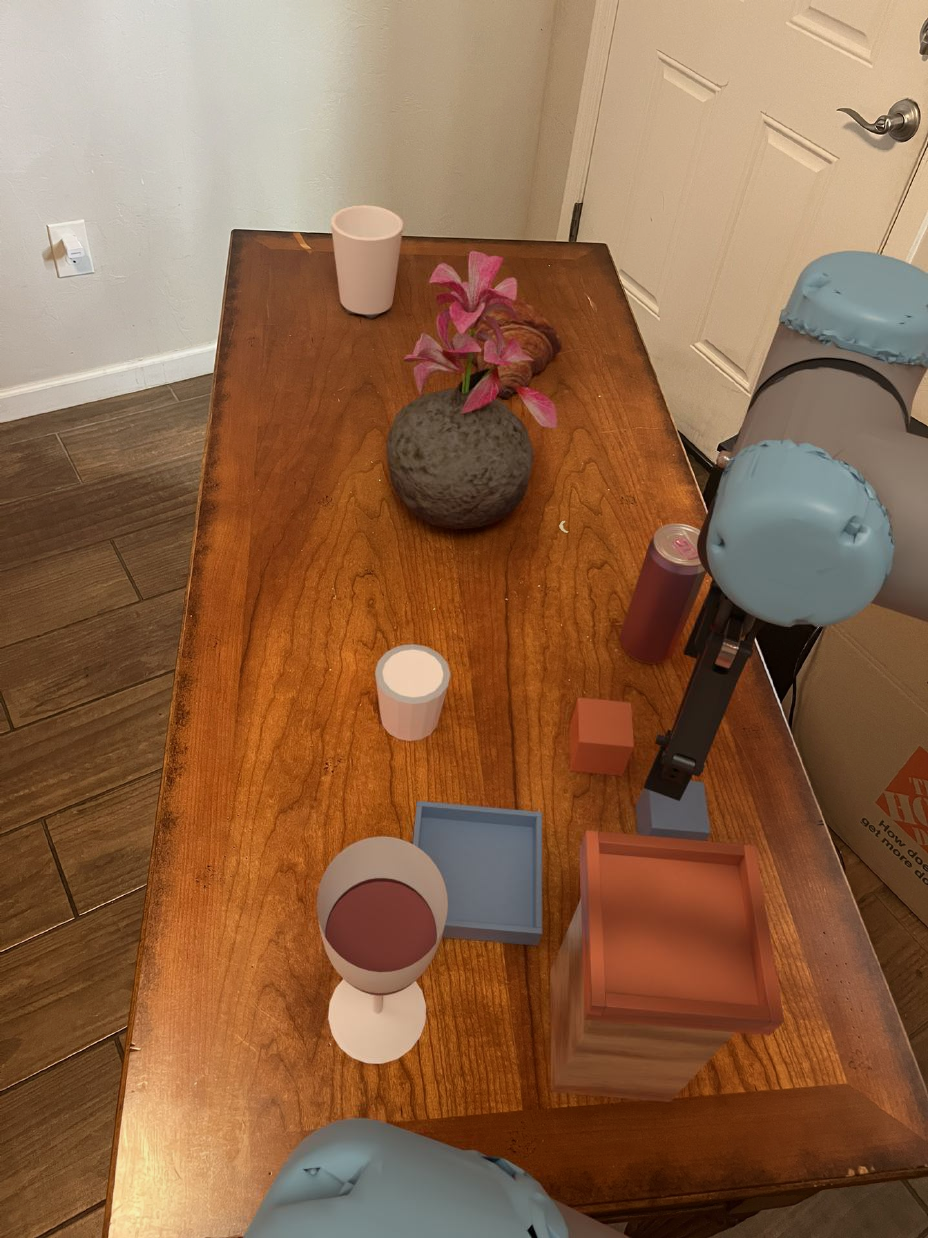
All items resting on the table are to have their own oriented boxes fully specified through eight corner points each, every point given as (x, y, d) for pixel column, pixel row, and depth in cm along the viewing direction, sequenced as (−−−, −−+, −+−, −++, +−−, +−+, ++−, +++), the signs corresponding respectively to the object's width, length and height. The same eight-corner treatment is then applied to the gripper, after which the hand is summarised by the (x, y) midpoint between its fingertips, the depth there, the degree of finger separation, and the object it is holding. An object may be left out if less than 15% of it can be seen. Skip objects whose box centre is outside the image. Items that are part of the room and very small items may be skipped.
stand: (685, 1118, 69) (784, 1021, 53) (537, 1106, 69) (592, 1005, 53) (671, 970, 77) (755, 845, 60) (537, 958, 76) (586, 829, 60)
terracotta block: (622, 776, 88) (634, 747, 85) (569, 771, 88) (579, 742, 84) (619, 732, 92) (630, 702, 88) (568, 727, 92) (577, 697, 88)
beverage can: (636, 673, 97) (673, 572, 85) (608, 631, 100) (639, 529, 89) (685, 658, 99) (727, 557, 87) (655, 617, 102) (692, 515, 91)
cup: (414, 309, 138) (418, 225, 129) (364, 332, 133) (365, 246, 124) (368, 280, 142) (369, 197, 133) (318, 302, 137) (315, 217, 128)
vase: (369, 469, 114) (372, 230, 91) (504, 449, 119) (538, 218, 96) (407, 566, 104) (420, 325, 81) (553, 541, 108) (604, 306, 86)
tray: (537, 946, 77) (542, 933, 75) (403, 934, 77) (405, 921, 75) (538, 825, 84) (542, 811, 82) (415, 814, 84) (417, 800, 82)
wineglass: (329, 1079, 69) (321, 980, 54) (322, 962, 75) (313, 843, 60) (436, 1064, 70) (457, 963, 55) (421, 950, 76) (437, 830, 61)
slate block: (694, 860, 83) (710, 833, 80) (638, 855, 83) (652, 827, 79) (689, 810, 87) (703, 782, 83) (635, 805, 86) (647, 776, 83)
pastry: (428, 340, 133) (431, 288, 127) (513, 312, 140) (520, 262, 134) (501, 403, 125) (508, 351, 119) (587, 370, 132) (598, 319, 126)
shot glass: (429, 756, 88) (433, 713, 83) (362, 731, 89) (362, 687, 84) (455, 702, 92) (461, 657, 87) (391, 679, 94) (393, 633, 88)
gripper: (747, 387, 65) (670, 595, 81) (667, 641, 49) (591, 837, 65) (856, 418, 63) (756, 623, 79) (811, 690, 48) (697, 877, 64)
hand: (682, 719), depth 72 cm, fingers open, 13 cm apart
